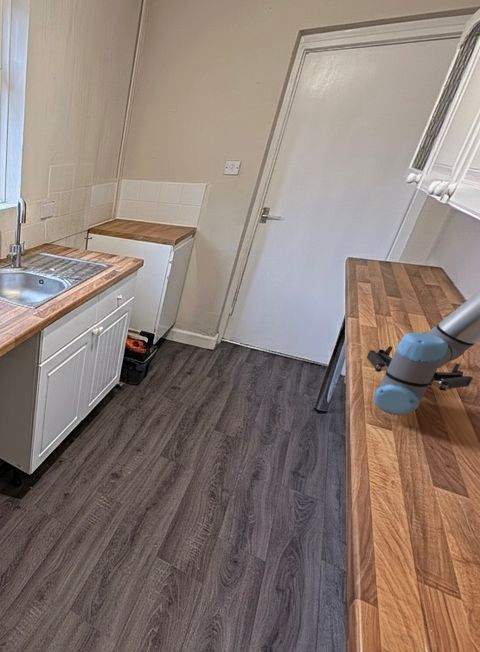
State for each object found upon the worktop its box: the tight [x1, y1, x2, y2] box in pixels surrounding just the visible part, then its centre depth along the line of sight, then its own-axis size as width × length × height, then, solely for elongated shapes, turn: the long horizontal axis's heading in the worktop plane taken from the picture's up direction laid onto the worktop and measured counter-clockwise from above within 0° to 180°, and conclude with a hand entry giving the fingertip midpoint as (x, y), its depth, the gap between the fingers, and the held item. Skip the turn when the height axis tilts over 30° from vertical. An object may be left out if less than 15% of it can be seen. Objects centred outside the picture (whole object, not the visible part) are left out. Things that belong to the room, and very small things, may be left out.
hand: (421, 359), depth 119 cm, fingers open, 13 cm apart
